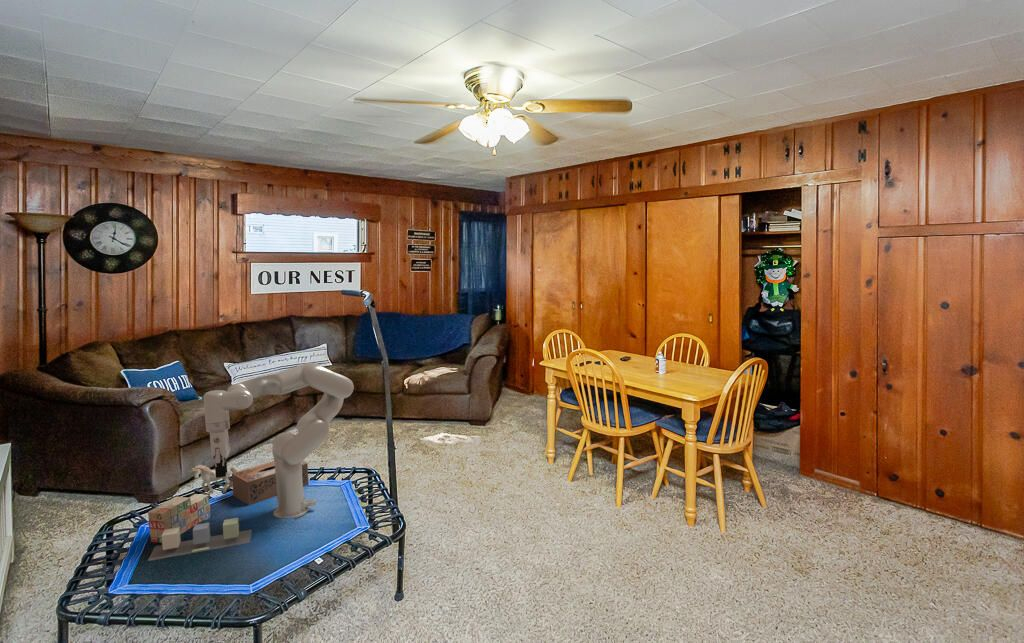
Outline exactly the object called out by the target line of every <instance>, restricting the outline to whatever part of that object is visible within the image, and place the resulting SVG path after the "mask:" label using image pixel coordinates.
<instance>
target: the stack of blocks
mask: <svg viewBox="0 0 1024 643" xmlns="http://www.w3.org/2000/svg"><path fill="white" fill-rule="evenodd" d="M147 513H148V514H147V515H148V527H149V528H148V529H149V535H150V537H149V539H150V542H151V543H159V544H162V534H163V532H164V530H166V529H172V528H178V527H180V535H182V534H184V533H185V532H187V531H189V529H192V527H193V528H194V526H195V525H196V524H200V523H201V522H202V521H203V522H204V521H208V520H210V519H211V518H212V514H211V502H210V495H207V494H203V493H202V494H200V493H199V494H198V493H194V494H192V495H190V496H189V497H185V496H183V497H182V496H174V497H173V498H171V499H168V500H167V501H165V502H163V503H162V504H160V505H157V506H155V508H153V509H151V510H149V511H148V512H147Z"/></svg>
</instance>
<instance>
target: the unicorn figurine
mask: <svg viewBox="0 0 1024 643" xmlns="http://www.w3.org/2000/svg"><path fill="white" fill-rule="evenodd" d="M191 469H192V470H188V471H187V473H193V474H194V479H196V480H198V479H199V478H200V477H199V476H201V479H202V482H201V487H202V489H203V491H205V493H207V494H206V495H209V496H211V494H214V491H215V490H214V488H213V487H212V484H211V482H216V481H219V480H223V481H224V482H225V484H224V485H223V487H222V492H223V493H226V492H227V491H228V490H230V489H233V484H232V477H231V475H232V473H235V472H238V471H237V468H235V467H230V468H228V467H227V473H226V476H225V477H219V478H216V473H215V470H213V469H211V468H209V467H208V466H206V465H203V464H198V465H196V466H195V467H194V468H193V467H191ZM205 484H206V485H207V486H205Z"/></svg>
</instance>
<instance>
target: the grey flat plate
mask: <svg viewBox="0 0 1024 643" xmlns="http://www.w3.org/2000/svg"><path fill="white" fill-rule="evenodd" d="M252 532H253V529H247V530H242V531H240V530H239V535H238V537H234V538H229V539H224V536H223V534H218V535H213V536H212V535H210V539H209V542H206V543H200V544H195V545H194V541H193V539H190V540H183V541H182V540H181V542H180V544H179V547H178V548H172V549H166V550H163V546H162V544H161V545H160V544H159V545H155V546H154V548H153V549H152V551H151V554H150V555H149V557H148V559H147V562H150V561H157V560H162V559H167V558H172V557H173V558H174V557H179V556H184V555H189V554H195V553H200V552H206V551H212V550H218V549H222V548H229V547H234V546H239V545H245V544H246V545H247V544H250V543H251V538H252Z"/></svg>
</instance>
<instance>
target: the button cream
mask: <svg viewBox="0 0 1024 643" xmlns="http://www.w3.org/2000/svg"><path fill="white" fill-rule="evenodd" d="M180 542H182V540H181V534H180V527H178V528H172V529H166V530H164V532H163V534H162V543H161V545H162V546H163V550H166V549H172V548H178V547H179V544H180Z"/></svg>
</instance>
